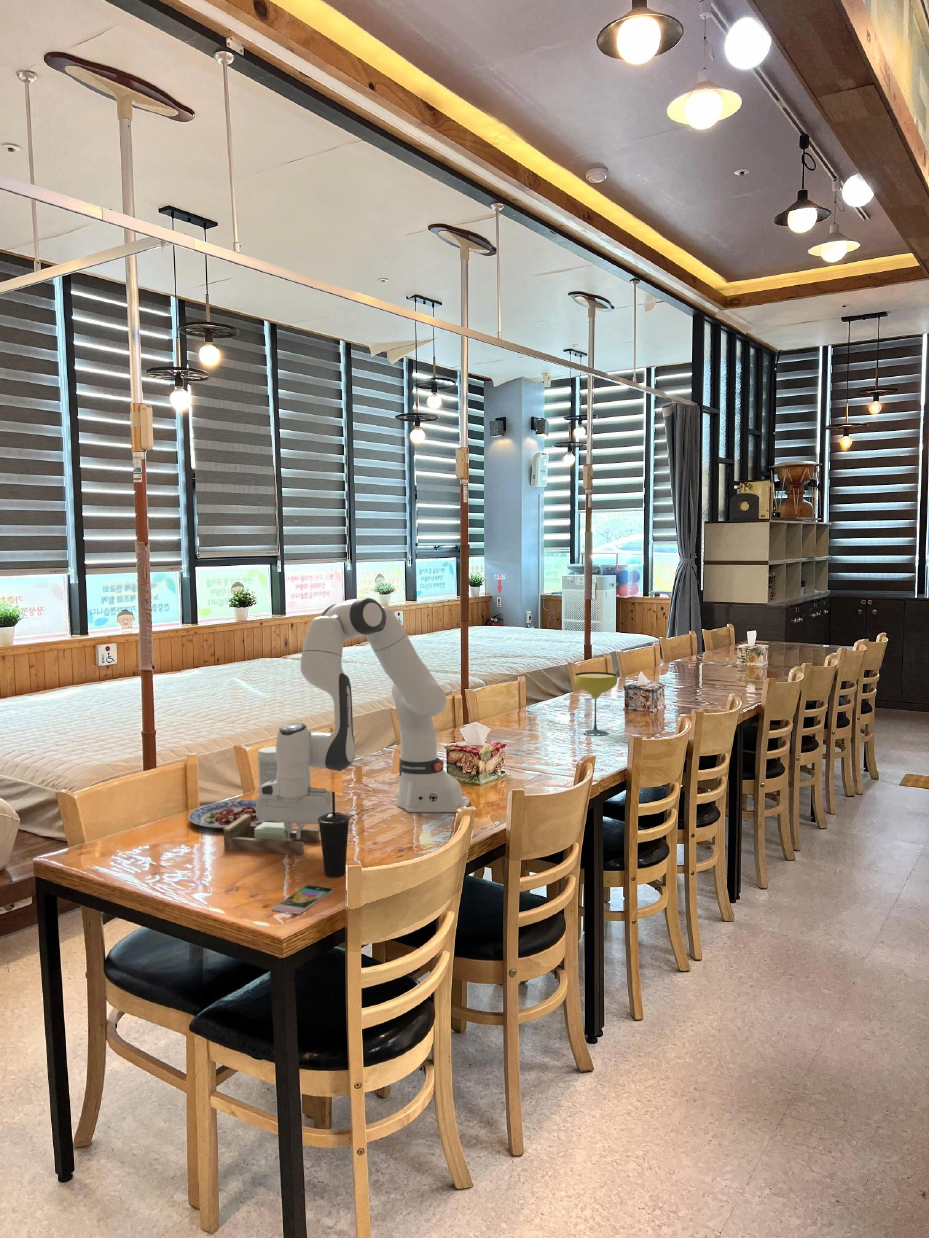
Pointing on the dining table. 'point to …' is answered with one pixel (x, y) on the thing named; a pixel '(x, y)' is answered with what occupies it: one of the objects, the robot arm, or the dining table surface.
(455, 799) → the robot arm
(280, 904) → the smartphone
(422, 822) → the dining table surface
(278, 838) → the pale green block
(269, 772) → the supplement tub
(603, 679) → the cocktail glass
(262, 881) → the dining table surface
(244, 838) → the bay
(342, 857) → the drinking cup
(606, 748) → the dining table surface
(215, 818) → the ceramic plate
